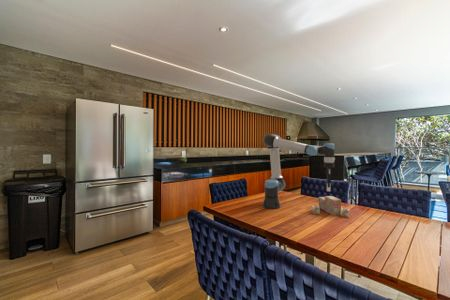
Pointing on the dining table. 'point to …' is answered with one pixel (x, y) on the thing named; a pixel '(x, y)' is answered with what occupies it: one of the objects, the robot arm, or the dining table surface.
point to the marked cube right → (345, 212)
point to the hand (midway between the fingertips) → (328, 191)
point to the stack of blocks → (330, 205)
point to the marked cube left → (316, 209)
